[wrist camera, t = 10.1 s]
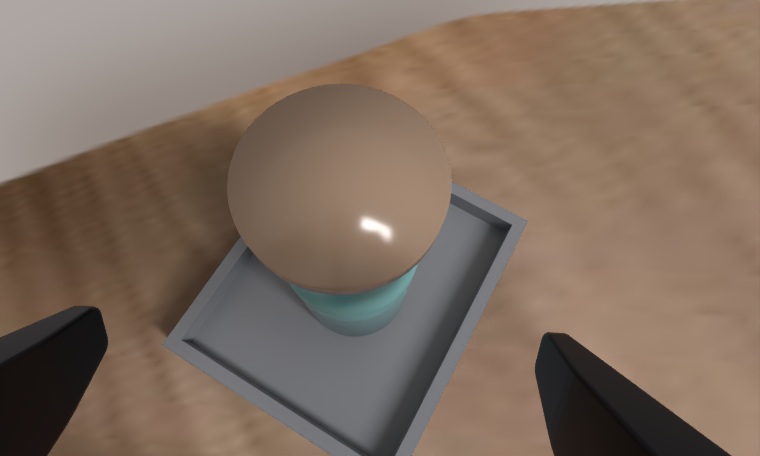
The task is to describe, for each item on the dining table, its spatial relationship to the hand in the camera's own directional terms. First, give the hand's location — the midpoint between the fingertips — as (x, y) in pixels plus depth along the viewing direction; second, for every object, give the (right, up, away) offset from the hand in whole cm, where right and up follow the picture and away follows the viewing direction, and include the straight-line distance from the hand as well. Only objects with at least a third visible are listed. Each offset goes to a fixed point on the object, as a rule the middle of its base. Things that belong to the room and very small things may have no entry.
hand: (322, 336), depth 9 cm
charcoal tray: (0, -1, +14) cm, 14 cm away
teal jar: (0, -1, +13) cm, 14 cm away
